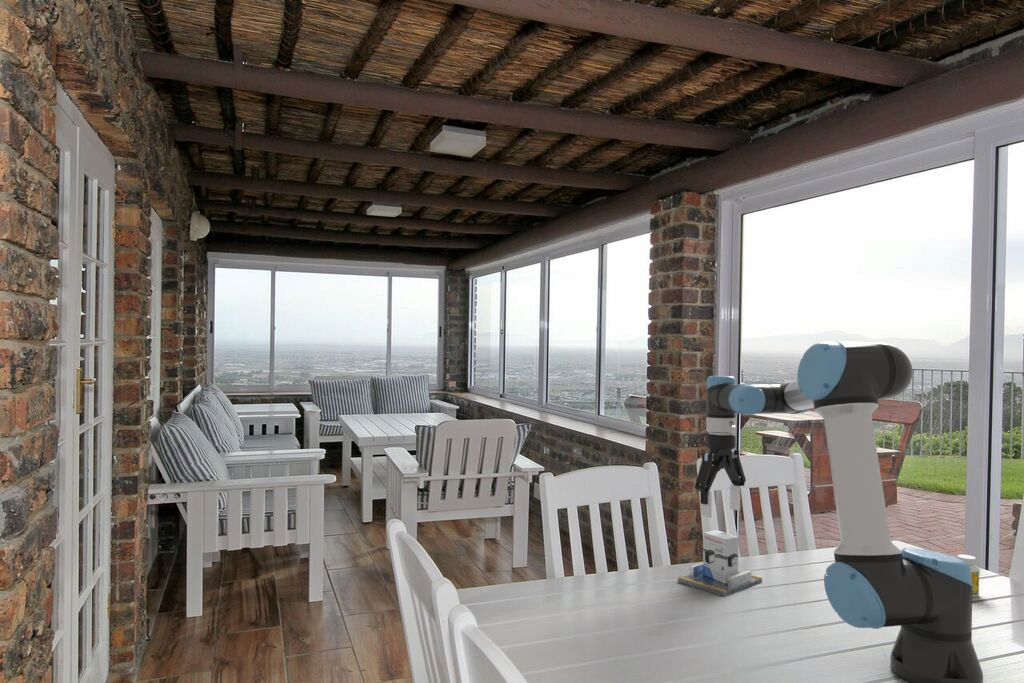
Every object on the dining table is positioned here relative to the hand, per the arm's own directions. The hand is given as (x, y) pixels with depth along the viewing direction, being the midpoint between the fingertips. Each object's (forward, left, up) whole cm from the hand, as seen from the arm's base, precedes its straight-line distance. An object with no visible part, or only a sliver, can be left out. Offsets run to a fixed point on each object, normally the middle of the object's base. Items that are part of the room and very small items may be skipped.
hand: (721, 513), depth 187 cm
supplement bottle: (+42, -45, -19) cm, 64 cm away
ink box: (0, 0, -18) cm, 18 cm away
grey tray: (0, 0, -18) cm, 18 cm away
